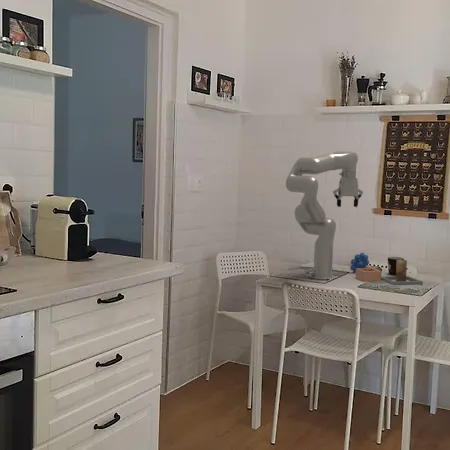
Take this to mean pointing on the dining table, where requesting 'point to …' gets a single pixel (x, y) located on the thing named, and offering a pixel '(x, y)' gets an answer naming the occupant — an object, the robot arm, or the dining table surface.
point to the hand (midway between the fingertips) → (347, 206)
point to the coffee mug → (393, 264)
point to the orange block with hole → (368, 274)
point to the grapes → (359, 262)
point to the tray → (410, 281)
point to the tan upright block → (401, 270)
